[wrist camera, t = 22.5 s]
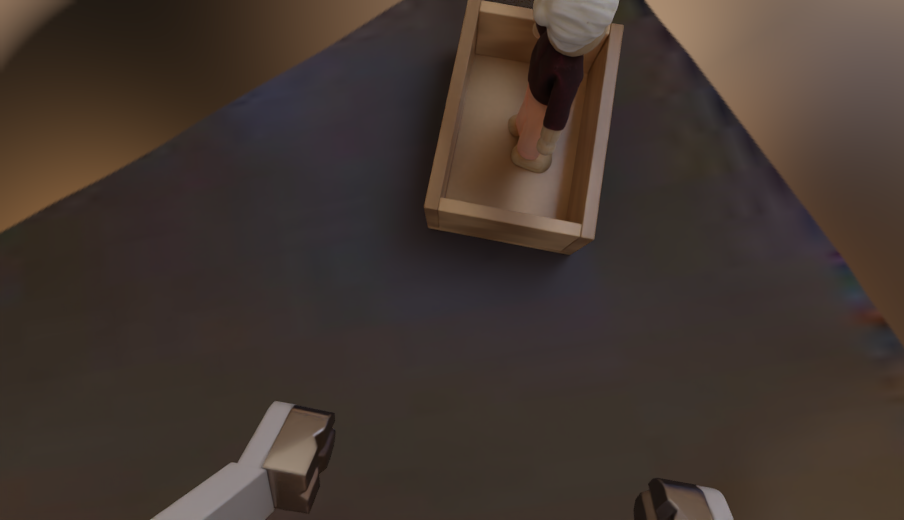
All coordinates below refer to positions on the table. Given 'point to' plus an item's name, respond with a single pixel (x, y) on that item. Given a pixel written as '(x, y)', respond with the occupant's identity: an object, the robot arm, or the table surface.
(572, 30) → the grandmother figurine
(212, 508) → the robot arm
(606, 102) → the holder
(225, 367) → the table surface
